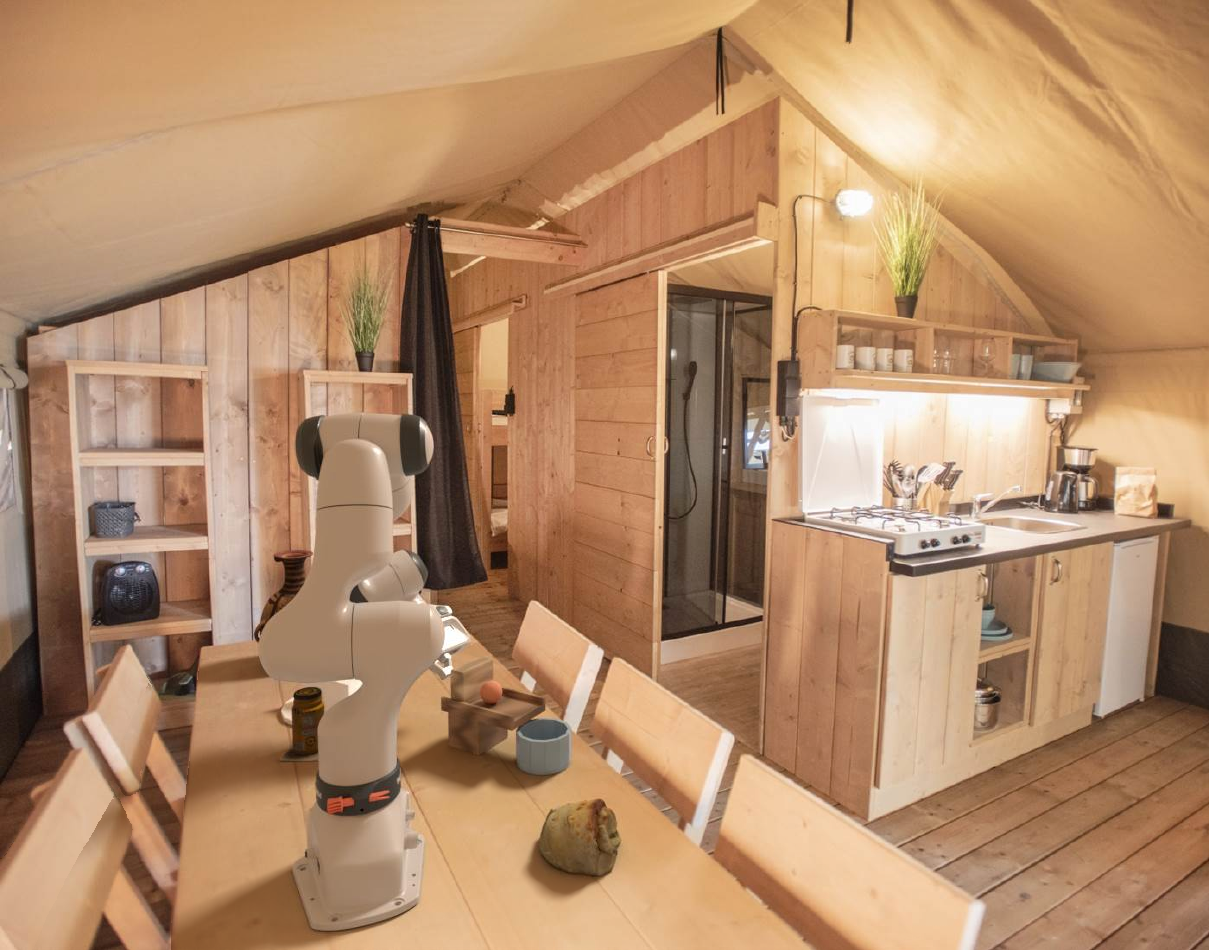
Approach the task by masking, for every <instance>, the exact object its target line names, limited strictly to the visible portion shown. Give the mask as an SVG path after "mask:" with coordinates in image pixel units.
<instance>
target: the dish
mask: <svg viewBox="0 0 1209 950" xmlns="http://www.w3.org/2000/svg"><path fill="white" fill-rule="evenodd" d="M361 685H362V682H361V681H360V680H355V679H351V680H340V681H328V682H317V683H301V689H302V688H306V687H318V688H320V689H321V691H322V701H323V702H324V714H325V713H326V711H327V710H329V709H330V708H331V707H332V706H333V705H335V704H336V703H337V702H339V701H341V700H343V699H344V698H346V697H348V696H350V695H352V694H353V693H354V692H356V691H357V690H358V689H359V688H360V687H361ZM293 700H294V697H293V696H292V697H291V698H290V699H289V700H287V701H286V702H285V703H283V706H282V708H281V710H280V712H281V713H280V715H281V717H282V719H283V721H284V722H285V723H286V724H289V725H290V726H292V706H293Z"/></svg>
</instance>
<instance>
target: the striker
mask: <svg viewBox="0 0 1209 950" xmlns="http://www.w3.org/2000/svg"><path fill="white" fill-rule="evenodd" d="M449 678H450V679H449V680H450V698H451V699H455V700H458V701H462V702H466V703H469V704H471V703H473V702H475V701H477V700H479V699H481V695H480V690H481V687H482V686H483V684H484V683H486V682H488V681H494V659H493V658H488V657H484V656H479V657H476V658H473V659H471V660H469V661H466V662H464V663H462V664H460V665H457V666H455V667H453V669H450V677H449Z"/></svg>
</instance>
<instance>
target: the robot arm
mask: <svg viewBox="0 0 1209 950" xmlns="http://www.w3.org/2000/svg"><path fill="white" fill-rule="evenodd" d="M434 447H435V446H434V438H433V434H432V432H431V430H430V428H429V426H428V423H427V421H426V420H424V419H423V417H421V416H418V415H415V414H409V413H403V414H390V413H365V412H351V413H347V412H346V413H340V414H332V415H325V414H319V415H315V416H311V417H310V416H309V417H308V418H305V419H304V420H303V421H302V422H301V423H300V424H299V425H298V427H297V430H296V433H295V438H294V448H293V449H294V454H295V457H296V460H297V463H298V467H299V468H300V469H301V471H302V472H303V473H305V474H306V475H307V476H308V477H312V478H314V479H315V480H316V481H318V483H317V489H316V505H315V506H316V508H315V510H316V512H315V535H314V538H315V539H314V549H313V555H312V556H313V557H312V563H311V567H310V569H309V572H308V575H307V577H306V578H305V583H304V585H303V586H302V588H301V589H300V591H299V592H298V593H297V595H296V596H295V597H294V598H293V599H292V600H291V602H290V603H289V604H287V605H286V606H285V607H284V608H283V609H282V610H280V611H279V612H277V613H276V614H275V615H274V616H273V617H272V618H271V619H270V620H269V621H268V622H267V624H266V625H265V627H264V629H263V630H262V633H261V635H260V634H259V638H260V639H259V643H258V645H257V646H258V647H257V648H258V649H257V650H258V657H259V661H260V663H261V666H262V668H263V670H264V671H265V672H266V674H267V675H268V676H269V677H270V678H271V679H273V680H274V681H282V682H287V683H288V682H289V683H299V684H302V683H317V682H328V681H340V680H351V679H355V680H360V681H361V682H362V685H361V687H360V688H359V689H358V690H357V691H356V692H354V693H353V694H352V695H350V696H348V697H346V698H344V699H343V700H341V701H339V702H337V703H336V704H335V705H333V706H332V707H331V708H330V709H329V710H327V711H326V713H325V714H324V715H323V717H322V718H321V720H320V722H319V725H318V760H317V761H318V770H317V771H316V775H315V782H314V789H315V799H316V801H315V802H314V804H313V805H312V806H311V807H310V808H309V809H308V810H307V812H306V819H305V820H306V822H305V824H306V849H305V851H304V856H302V857H300V858H299V859H297V860H296V861H295V862H294V863H293V864H292V875H293V878H294V881H295V885H296V887H297V890H298V893H299V896H300V899H301V902H302V905H303V909H304V911H305V914H306V916H307V921H308V923H309V926H310V928H311V929H312V930H316V931H326V932H327V931H329V932H330V931H341V930H342V931H343V930H348V929H355V928H358V927H363V926H367V925H371V924H374V923H378V922H382V921H385V920H388V919H390V918H393V917H395V916H397V915H400V914H402V913H404V912H406V911H408V910H410V909H411V908H412V907H414V906H415V905H417V904H418V903H419V902H420V899H421V890H422V879H423V871H424V870H423V867H424V859H425V848H426V840H425V836H424V835H423V834H422V833H421V834H420V833H419V832H418V830H415V828H411V827H412V825H411V821H414V820H415V819H414V817H415V810H414V809H411V802H410V799H411V797H410V792H409V791H408V790H406V789H405V788H403V787H402V780H401V779H402V769H401V768H402V767H400V766H401V763H400V759H399V757H397V756H398V750H397V748H398V747H397V745H398V743H397V742H398V725H399V716H400V711H401V708H402V705H403V702H404V700H405V698H406V696H407V694H408V693H409V691H410V690H411V687H412V686H413V685H414V683H415V682H416V681H417V680H418V679H419V678H420V677H421V676H422V675H424V673H425V672H427V671H428V670H429V671H431V672H432V673H434V674H436V675H438V677H439V678H440V680H441V681H445V680H447V679H448V678H450V669H453V668H454V667H453V661H452V656H453V655H455V654H458V653H460V652H463V651H464V650H465V649H466V648H467V647H468V646H469V645H470V644H471V635H470V634H469V633H468V631H467V629H466V628H465V627H464V624H462V623H461V621H460V620H459V619H458V618H457V617H456V616H453V615H452V614H453V610H452V608H451V607H450V606H449V605H439V604H438V605H437V604H430V603H427V602H426V600H424V599H423V598H422V596H421V595H420V591H422V590H423V589H424V587H425V584H426V583H427V579H428V576H429V571H428V568H427V566H426V564H425V563H424V562H423V560H422V558H421V557H420V555H418V553H416V552H415V551H412V550H408V549H400V550H398V551H395V552H394V522H395V521H397V520H398V519H399V518H400V517H401V516H402V515H403V514H404V513H405V512H406V511H407V510H408V508H409V506H410V505H411V503H412V500H413V494H414V482H413V481H414V480H413V476H417V475H418V474H421V473H424V472H425V471H426V470H427V469H428V467H429V466H430V462H431V460H432V458H433V453H434ZM439 663H440V664H439ZM442 664H443V666H442Z"/></svg>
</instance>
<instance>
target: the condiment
mask: <svg viewBox="0 0 1209 950" xmlns="http://www.w3.org/2000/svg"><path fill="white" fill-rule="evenodd" d="M292 697H294V700H293V706H292V725H291V733H292V734H291V735H292V740H291V742H292V746H291V747H290V748H289V749H288V750H287V751H286V752H285V753H284V754H283V756H281V757H280V759H279V761H283V762H284V761H285V762H307V761H308V762H311V761H313V762H314V761H315V762H316V761H318V725H319V722H320V720H321V718H322V717H323V715H324V702H323V701H322V691H321V689H320V688H318V687H306V688H302V687H301V688H299V689H297V690H295V691H294V693H293V695H292Z"/></svg>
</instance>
